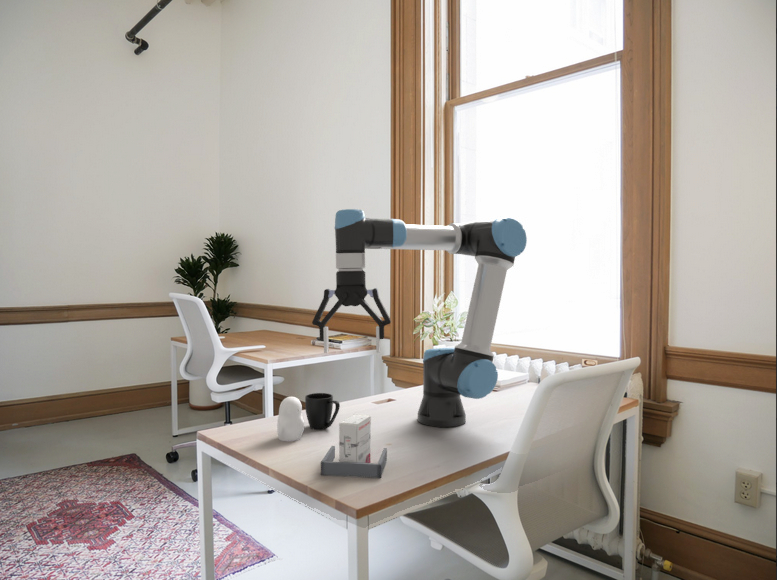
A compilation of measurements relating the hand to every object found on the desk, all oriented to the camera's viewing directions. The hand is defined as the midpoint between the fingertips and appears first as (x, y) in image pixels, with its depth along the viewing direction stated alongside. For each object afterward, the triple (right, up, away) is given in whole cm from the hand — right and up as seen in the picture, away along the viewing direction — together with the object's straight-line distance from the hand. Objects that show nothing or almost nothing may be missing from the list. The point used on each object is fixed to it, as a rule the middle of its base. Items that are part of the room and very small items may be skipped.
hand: (352, 352), depth 143 cm
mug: (-10, -26, +22) cm, 35 cm away
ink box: (+1, -27, -11) cm, 29 cm away
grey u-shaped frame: (+1, -27, -11) cm, 29 cm away
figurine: (-18, -26, +12) cm, 34 cm away
